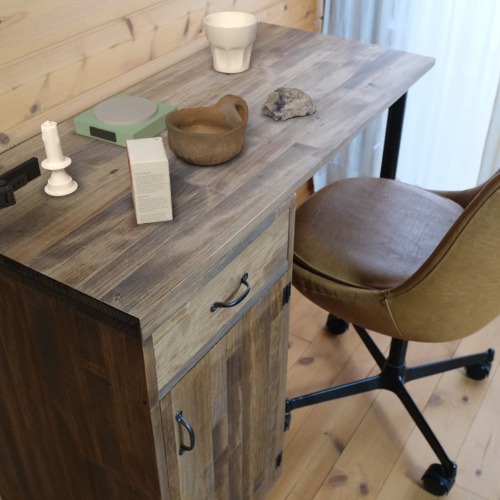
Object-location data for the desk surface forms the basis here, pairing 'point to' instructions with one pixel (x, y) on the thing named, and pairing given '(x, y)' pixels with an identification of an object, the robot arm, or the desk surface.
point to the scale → (123, 119)
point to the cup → (231, 39)
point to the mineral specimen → (288, 104)
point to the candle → (56, 162)
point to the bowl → (208, 131)
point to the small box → (149, 180)
